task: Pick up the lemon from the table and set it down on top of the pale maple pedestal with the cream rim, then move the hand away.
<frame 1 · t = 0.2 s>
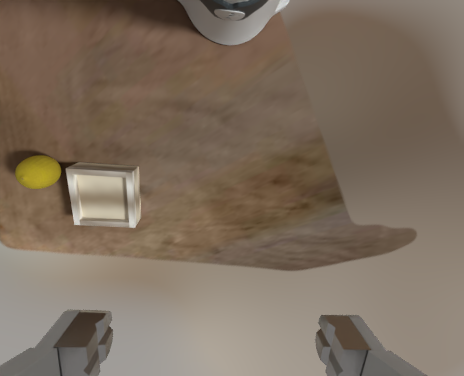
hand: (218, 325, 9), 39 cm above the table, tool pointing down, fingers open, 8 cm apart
base: (111, 191, 48), on the table
lemon: (55, 165, 46), on the table
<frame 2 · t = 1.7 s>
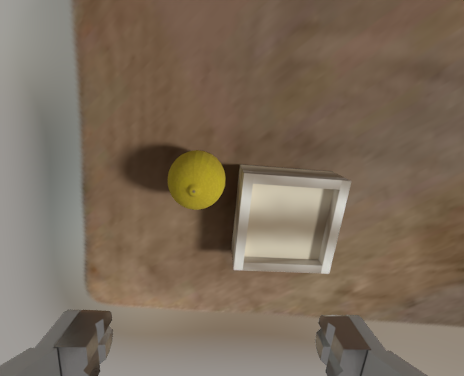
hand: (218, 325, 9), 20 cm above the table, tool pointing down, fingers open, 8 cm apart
base: (279, 212, 30), on the table
lemon: (199, 169, 28), on the table
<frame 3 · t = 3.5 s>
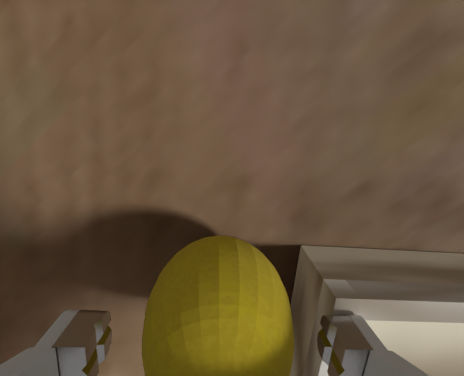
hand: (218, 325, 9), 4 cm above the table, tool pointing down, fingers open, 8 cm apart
base: (371, 327, 15), on the table
lemon: (219, 255, 14), on the table
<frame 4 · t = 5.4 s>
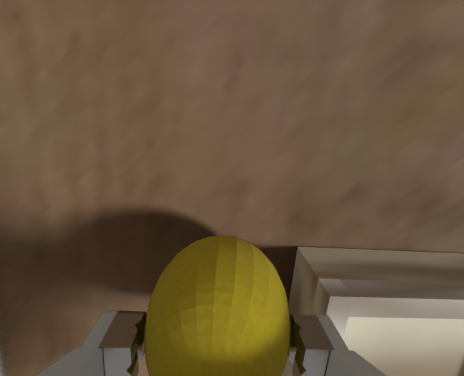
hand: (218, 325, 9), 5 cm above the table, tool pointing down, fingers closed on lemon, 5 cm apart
base: (367, 325, 16), on the table
lemon: (224, 258, 14), on the table, touching gripper
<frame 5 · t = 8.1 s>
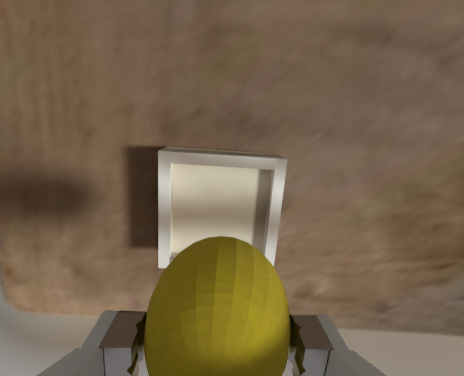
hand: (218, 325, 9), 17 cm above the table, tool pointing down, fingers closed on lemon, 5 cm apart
base: (219, 201, 26), on the table
lemon: (224, 258, 14), point 12 cm above the table, touching gripper
when the fingers open (8 cm above the table, at t = 10.9 s): lemon stays where it is, resting on base.
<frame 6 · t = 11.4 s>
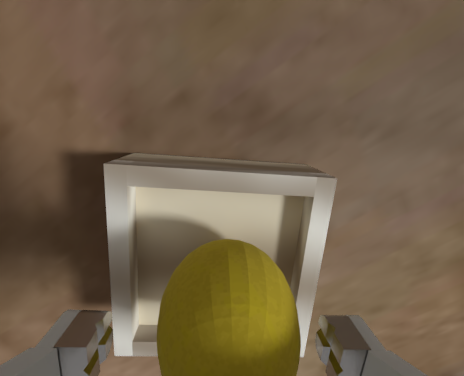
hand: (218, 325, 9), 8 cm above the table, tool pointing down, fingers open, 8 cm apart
base: (217, 237, 17), on the table
lemon: (225, 258, 14), point 3 cm above the table, touching base
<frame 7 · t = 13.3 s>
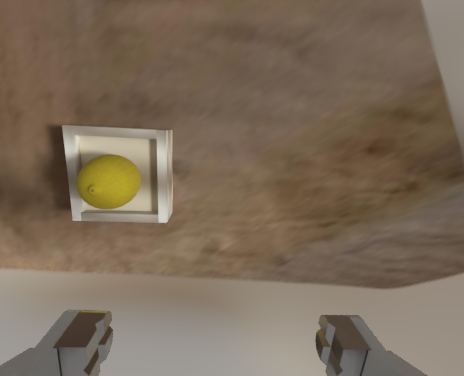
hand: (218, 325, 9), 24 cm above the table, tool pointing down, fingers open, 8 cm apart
base: (130, 170, 32), on the table
lemon: (125, 173, 29), point 3 cm above the table, touching base
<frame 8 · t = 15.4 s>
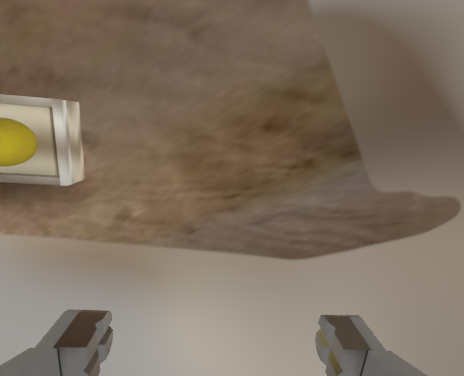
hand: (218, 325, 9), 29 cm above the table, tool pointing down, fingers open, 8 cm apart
base: (42, 139, 35), on the table
lemon: (30, 139, 32), point 3 cm above the table, touching base
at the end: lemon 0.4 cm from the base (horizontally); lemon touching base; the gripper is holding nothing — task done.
